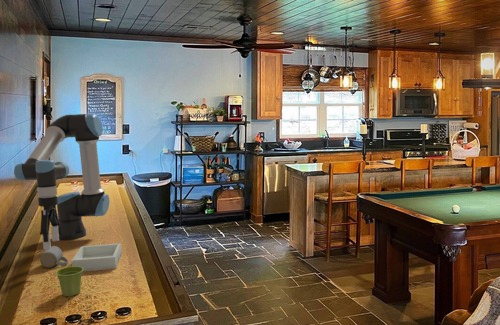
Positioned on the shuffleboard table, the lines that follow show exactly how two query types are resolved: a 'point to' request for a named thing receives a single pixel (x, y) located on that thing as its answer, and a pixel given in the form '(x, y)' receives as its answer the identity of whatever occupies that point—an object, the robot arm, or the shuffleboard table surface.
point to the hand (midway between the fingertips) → (51, 244)
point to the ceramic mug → (52, 257)
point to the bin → (98, 257)
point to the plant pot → (70, 280)
